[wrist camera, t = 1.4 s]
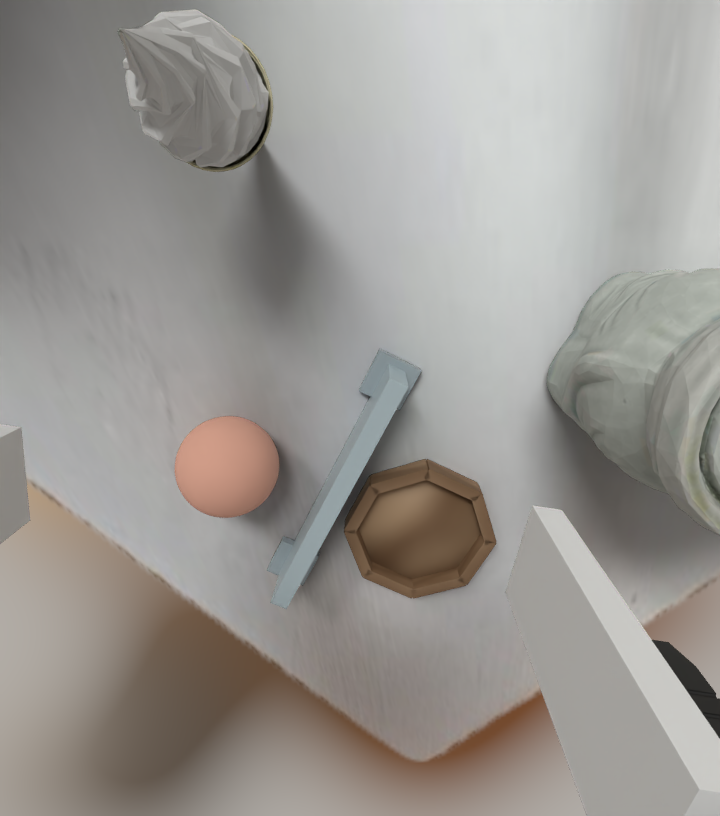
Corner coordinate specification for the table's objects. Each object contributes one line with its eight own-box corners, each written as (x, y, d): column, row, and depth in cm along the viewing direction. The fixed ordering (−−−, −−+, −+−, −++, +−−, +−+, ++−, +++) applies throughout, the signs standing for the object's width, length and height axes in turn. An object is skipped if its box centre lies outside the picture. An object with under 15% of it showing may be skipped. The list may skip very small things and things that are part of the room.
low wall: (268, 565, 36) (255, 602, 32) (379, 348, 30) (379, 363, 27) (303, 580, 37) (295, 619, 33) (420, 368, 31) (426, 386, 27)
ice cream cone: (205, 98, 26) (0, -76, 12) (295, 85, 26) (193, -109, 12) (224, 196, 28) (62, 146, 13) (308, 186, 27) (234, 124, 13)
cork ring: (328, 549, 36) (326, 561, 34) (388, 441, 32) (389, 450, 31) (444, 599, 37) (446, 613, 35) (513, 499, 34) (519, 510, 32)
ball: (184, 463, 34) (142, 511, 28) (215, 387, 32) (176, 421, 26) (267, 499, 34) (243, 554, 28) (302, 427, 32) (284, 469, 26)
